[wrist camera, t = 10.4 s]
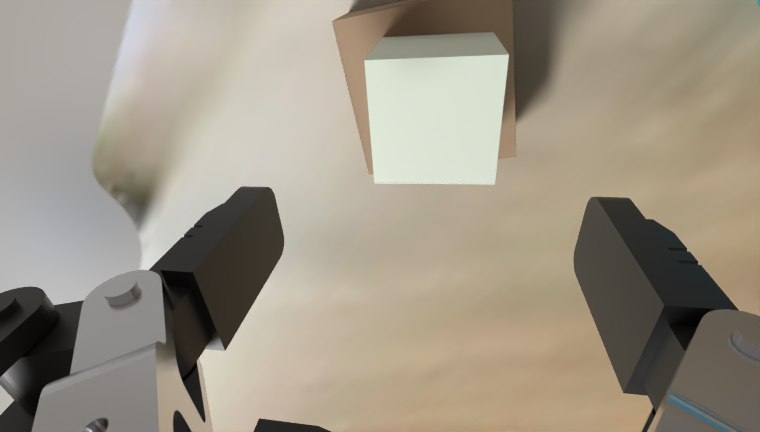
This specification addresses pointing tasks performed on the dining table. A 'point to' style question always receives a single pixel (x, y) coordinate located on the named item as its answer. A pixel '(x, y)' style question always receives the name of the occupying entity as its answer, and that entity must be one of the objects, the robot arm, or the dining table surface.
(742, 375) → the robot arm
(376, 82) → the sage cube
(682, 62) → the dining table surface
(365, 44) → the brown wooden block
